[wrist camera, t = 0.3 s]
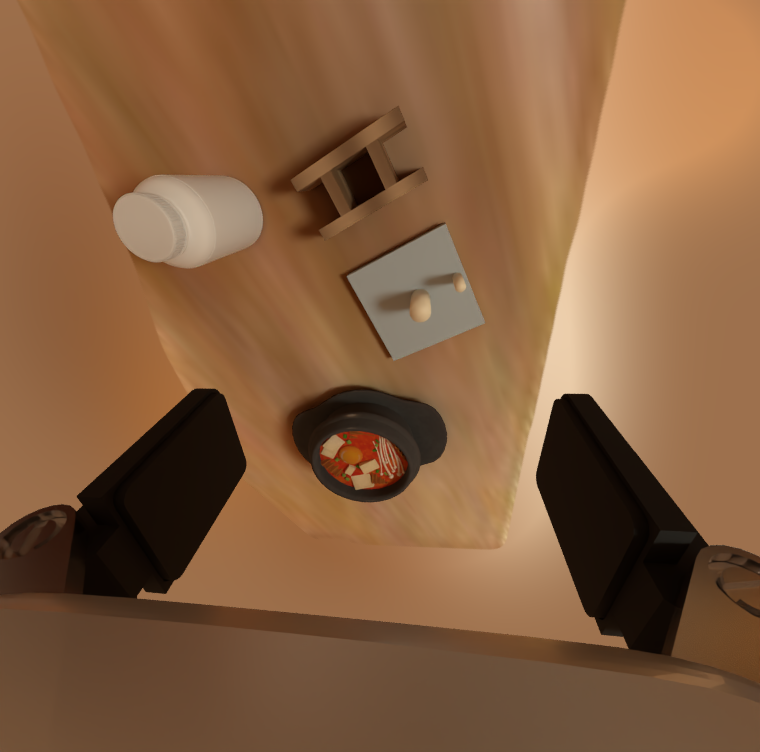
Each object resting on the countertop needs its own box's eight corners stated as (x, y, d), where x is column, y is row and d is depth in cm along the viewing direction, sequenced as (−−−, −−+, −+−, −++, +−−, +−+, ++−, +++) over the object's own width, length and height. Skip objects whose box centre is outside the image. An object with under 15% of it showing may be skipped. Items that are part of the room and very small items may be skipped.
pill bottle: (215, 157, 38) (109, 148, 25) (276, 208, 40) (206, 224, 27) (189, 217, 41) (84, 237, 28) (246, 261, 43) (172, 298, 30)
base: (348, 274, 43) (337, 288, 37) (444, 222, 38) (448, 230, 33) (394, 356, 48) (391, 379, 43) (483, 319, 44) (492, 339, 38)
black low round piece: (441, 374, 49) (444, 409, 42) (450, 467, 58) (454, 509, 51) (281, 390, 53) (259, 423, 46) (313, 473, 62) (299, 512, 55)
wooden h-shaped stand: (335, 233, 40) (324, 240, 36) (305, 179, 38) (290, 179, 33) (427, 179, 36) (428, 180, 32) (401, 114, 34) (398, 105, 30)
